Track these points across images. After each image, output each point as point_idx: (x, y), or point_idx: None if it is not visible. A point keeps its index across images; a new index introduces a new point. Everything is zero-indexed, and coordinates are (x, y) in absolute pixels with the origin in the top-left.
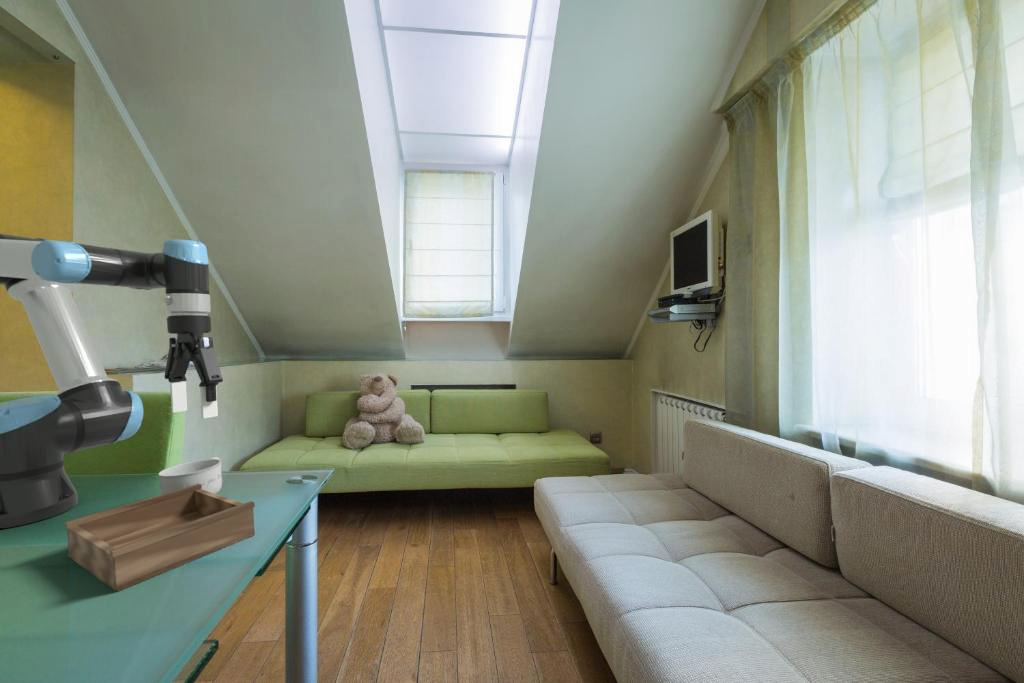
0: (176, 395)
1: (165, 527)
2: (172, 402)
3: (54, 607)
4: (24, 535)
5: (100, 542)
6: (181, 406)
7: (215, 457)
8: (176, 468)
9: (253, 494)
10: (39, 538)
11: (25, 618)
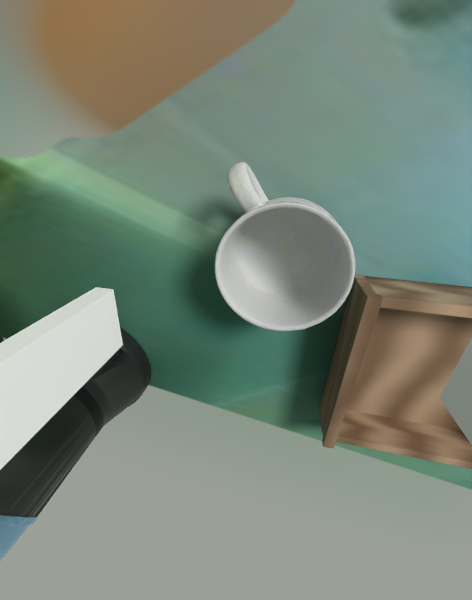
0: (51, 395)
1: (376, 341)
2: (84, 379)
3: None
4: (190, 389)
5: (440, 458)
6: (101, 327)
7: (246, 184)
8: (222, 272)
9: (382, 156)
10: (218, 389)
11: (430, 468)
